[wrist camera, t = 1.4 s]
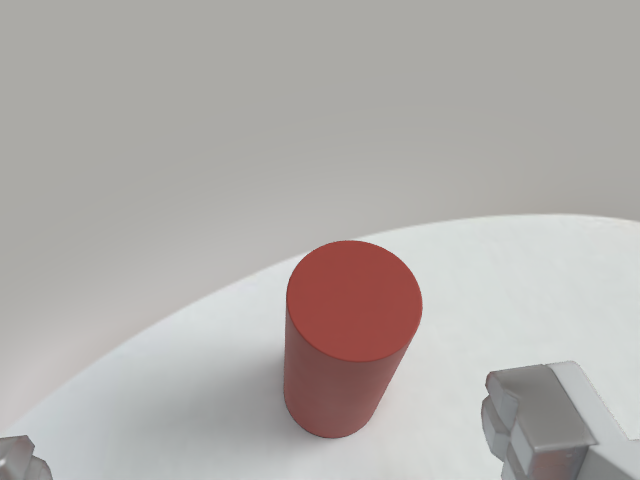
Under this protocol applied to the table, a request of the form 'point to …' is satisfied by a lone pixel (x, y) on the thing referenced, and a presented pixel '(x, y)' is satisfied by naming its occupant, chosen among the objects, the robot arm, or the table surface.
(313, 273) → the red canister
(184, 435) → the table surface
